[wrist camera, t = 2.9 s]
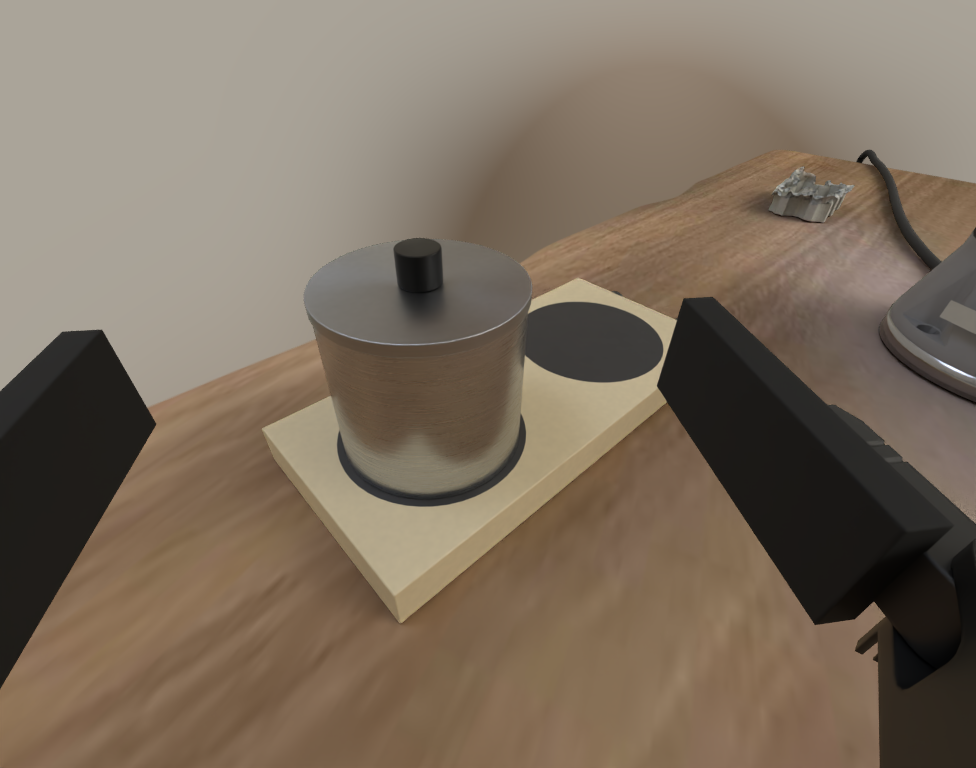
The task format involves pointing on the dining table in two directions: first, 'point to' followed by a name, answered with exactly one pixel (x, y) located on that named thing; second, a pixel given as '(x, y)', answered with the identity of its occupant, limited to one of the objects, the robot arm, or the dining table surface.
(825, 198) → the egg carton
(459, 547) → the hot plate
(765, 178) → the dining table surface
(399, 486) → the pot
